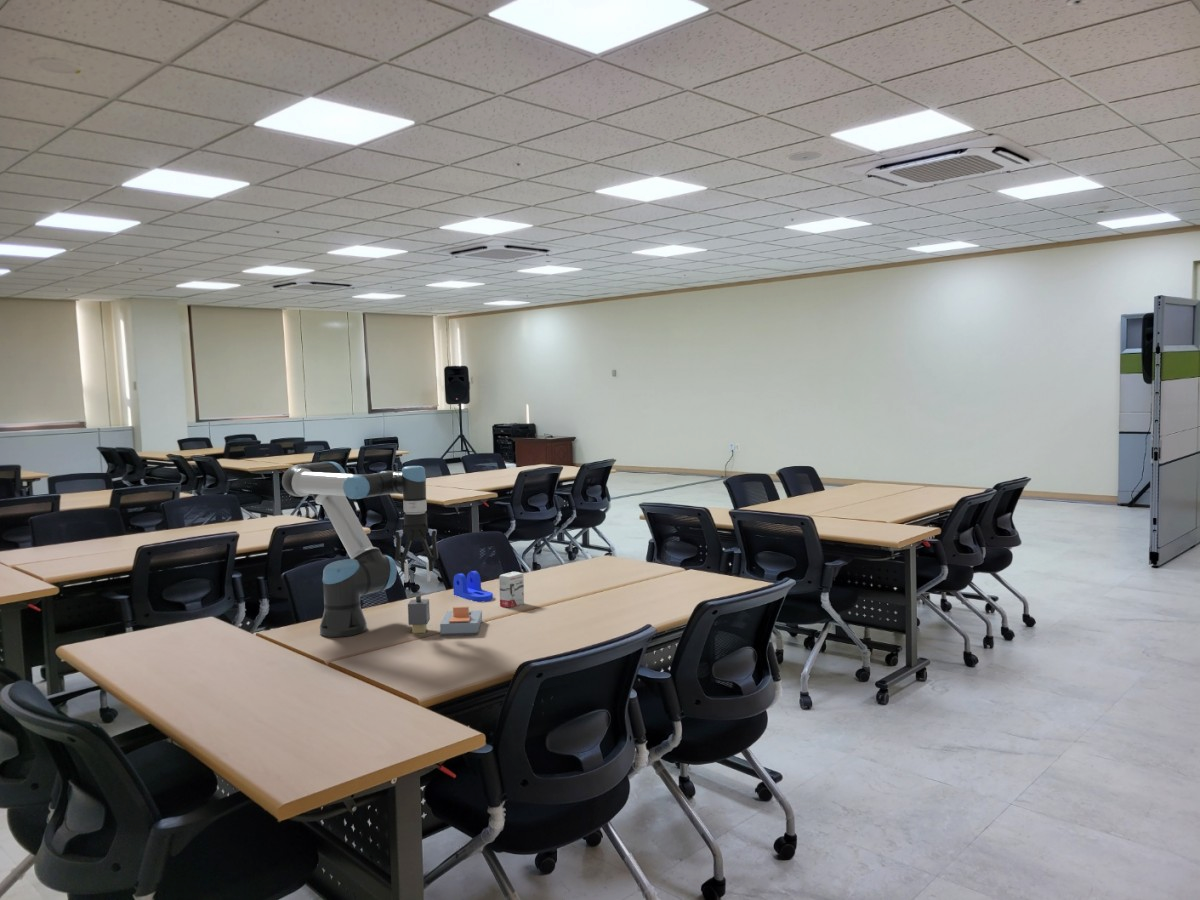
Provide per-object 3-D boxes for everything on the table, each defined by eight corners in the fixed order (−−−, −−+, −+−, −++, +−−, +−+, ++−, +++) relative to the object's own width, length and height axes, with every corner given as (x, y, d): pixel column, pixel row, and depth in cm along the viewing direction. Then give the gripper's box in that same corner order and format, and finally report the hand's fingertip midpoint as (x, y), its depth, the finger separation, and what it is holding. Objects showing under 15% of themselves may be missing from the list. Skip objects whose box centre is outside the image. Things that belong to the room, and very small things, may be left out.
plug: (408, 633, 275) (407, 598, 274) (412, 628, 281) (410, 593, 280) (427, 633, 275) (425, 597, 274) (430, 628, 281) (428, 593, 280)
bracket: (453, 595, 328) (453, 572, 327) (471, 591, 333) (470, 569, 333) (478, 603, 314) (478, 579, 314) (497, 599, 320) (496, 576, 319)
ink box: (509, 608, 305) (508, 576, 304) (499, 606, 308) (498, 575, 307) (524, 603, 312) (524, 572, 311) (515, 601, 315) (514, 571, 314)
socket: (440, 636, 271) (440, 624, 271) (447, 622, 287) (447, 611, 287) (477, 634, 272) (477, 622, 272) (482, 621, 288) (481, 610, 287)
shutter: (448, 622, 272) (448, 612, 272) (451, 617, 278) (451, 607, 278) (468, 621, 272) (468, 611, 272) (471, 616, 279) (470, 606, 278)
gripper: (383, 515, 271) (385, 584, 273) (443, 513, 272) (445, 582, 274) (387, 511, 279) (390, 579, 280) (446, 510, 279) (448, 577, 281)
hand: (417, 581), depth 277 cm, fingers open, 7 cm apart
